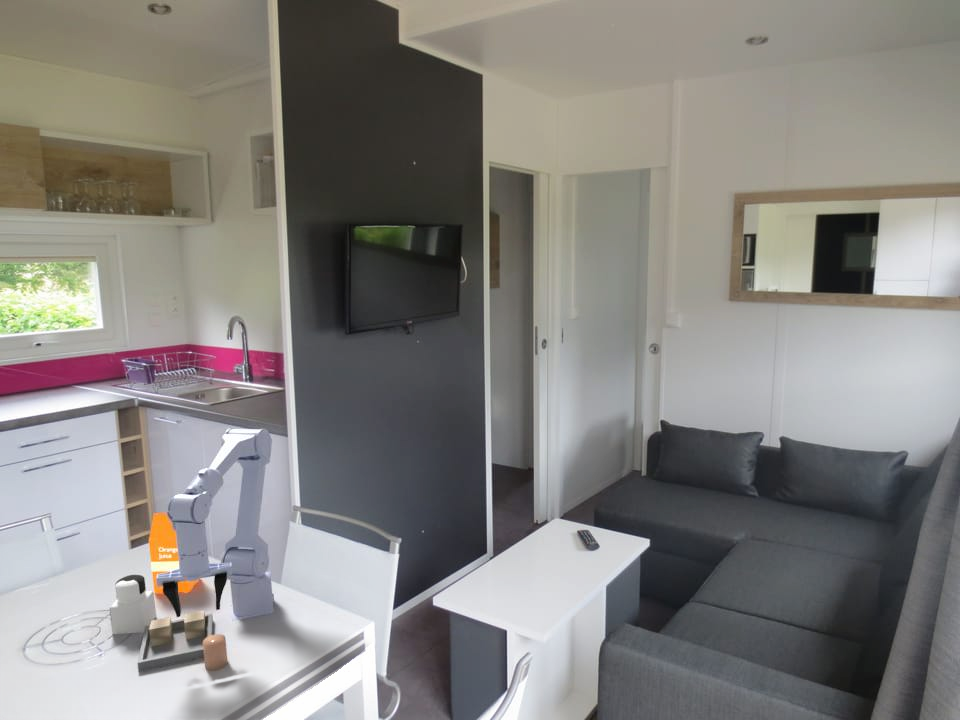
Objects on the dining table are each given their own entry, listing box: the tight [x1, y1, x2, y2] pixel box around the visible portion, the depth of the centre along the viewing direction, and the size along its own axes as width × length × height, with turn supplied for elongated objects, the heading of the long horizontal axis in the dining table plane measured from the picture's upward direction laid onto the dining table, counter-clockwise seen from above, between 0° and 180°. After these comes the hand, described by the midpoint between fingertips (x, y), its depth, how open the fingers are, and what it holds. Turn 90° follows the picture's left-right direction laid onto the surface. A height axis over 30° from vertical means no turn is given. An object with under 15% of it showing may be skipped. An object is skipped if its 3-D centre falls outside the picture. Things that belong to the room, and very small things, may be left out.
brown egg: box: [203, 633, 229, 672], centre depth 141 cm, size 4×4×6 cm
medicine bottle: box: [109, 574, 157, 635], centre depth 156 cm, size 7×7×12 cm
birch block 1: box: [149, 616, 173, 647], centre depth 150 cm, size 4×4×4 cm
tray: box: [137, 613, 214, 672], centre depth 148 cm, size 14×15×2 cm
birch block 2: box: [184, 610, 206, 639], centre depth 153 cm, size 4×4×4 cm
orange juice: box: [148, 512, 200, 594], centre depth 175 cm, size 8×9×20 cm
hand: (198, 611), depth 143 cm, fingers open, 7 cm apart
